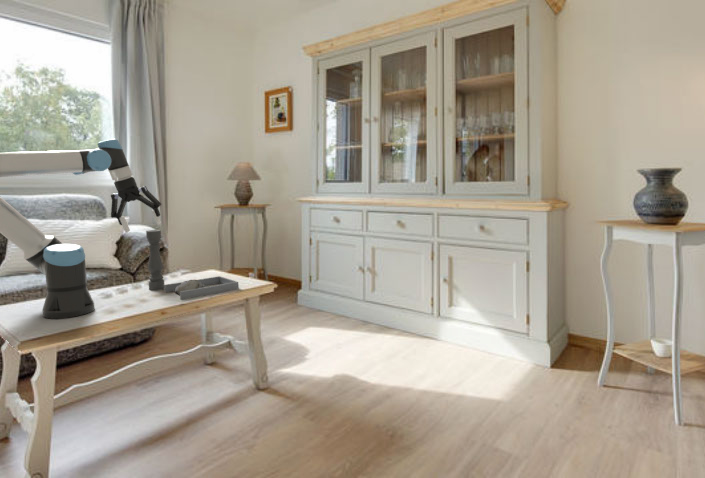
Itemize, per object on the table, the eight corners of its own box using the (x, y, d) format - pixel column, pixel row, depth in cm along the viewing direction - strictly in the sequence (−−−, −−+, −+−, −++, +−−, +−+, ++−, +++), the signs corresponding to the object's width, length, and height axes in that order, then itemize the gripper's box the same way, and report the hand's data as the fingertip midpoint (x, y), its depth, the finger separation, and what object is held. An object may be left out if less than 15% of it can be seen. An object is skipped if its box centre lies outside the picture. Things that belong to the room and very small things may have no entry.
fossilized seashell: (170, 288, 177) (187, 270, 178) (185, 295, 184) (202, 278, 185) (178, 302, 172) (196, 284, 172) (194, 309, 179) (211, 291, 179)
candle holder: (167, 286, 188) (164, 229, 185) (159, 290, 182) (156, 231, 179) (154, 286, 188) (150, 229, 185) (145, 290, 182) (142, 231, 179)
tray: (181, 299, 167) (180, 291, 167) (164, 291, 179) (164, 284, 179) (238, 288, 184) (238, 281, 184) (220, 282, 196) (219, 276, 196)
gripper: (157, 169, 174) (175, 218, 182) (97, 183, 175) (118, 231, 182) (149, 173, 167) (169, 223, 174) (88, 187, 168) (110, 237, 175)
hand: (143, 228), depth 178 cm, fingers open, 13 cm apart
